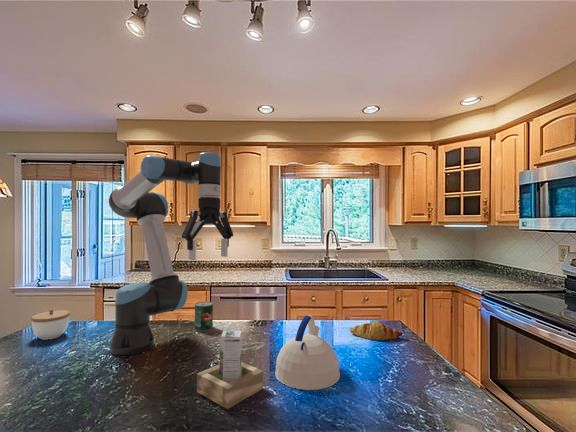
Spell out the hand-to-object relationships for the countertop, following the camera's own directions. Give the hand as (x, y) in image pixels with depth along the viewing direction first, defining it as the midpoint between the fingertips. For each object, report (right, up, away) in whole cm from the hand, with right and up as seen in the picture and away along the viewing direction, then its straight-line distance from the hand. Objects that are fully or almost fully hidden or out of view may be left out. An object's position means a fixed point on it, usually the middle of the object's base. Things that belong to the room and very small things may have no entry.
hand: (209, 258), depth 111 cm
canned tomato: (-10, -36, +30) cm, 48 cm away
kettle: (+34, -35, -11) cm, 50 cm away
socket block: (+11, -34, -22) cm, 42 cm away
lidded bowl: (-70, -35, +19) cm, 81 cm away
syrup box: (+11, -33, -21) cm, 41 cm away
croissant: (+64, -36, +21) cm, 76 cm away
